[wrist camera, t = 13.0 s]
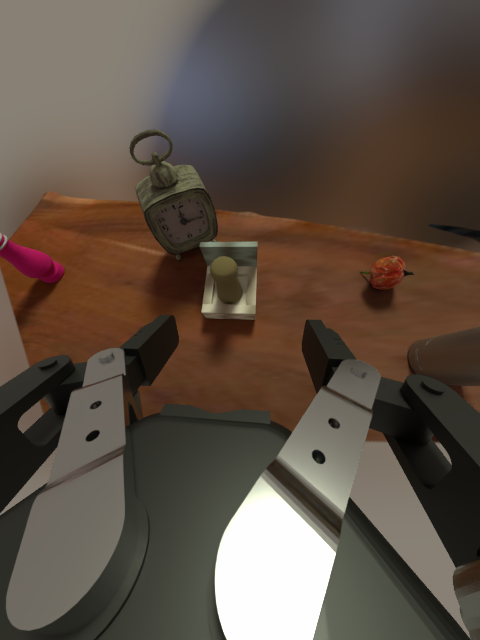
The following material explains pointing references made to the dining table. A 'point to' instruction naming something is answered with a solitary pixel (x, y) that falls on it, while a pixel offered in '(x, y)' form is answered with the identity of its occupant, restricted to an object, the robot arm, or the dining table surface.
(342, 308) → the dining table surface
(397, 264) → the pomegranate
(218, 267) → the cork
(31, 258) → the pepper mill
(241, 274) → the stand
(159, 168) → the tabletop clock
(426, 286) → the dining table surface
